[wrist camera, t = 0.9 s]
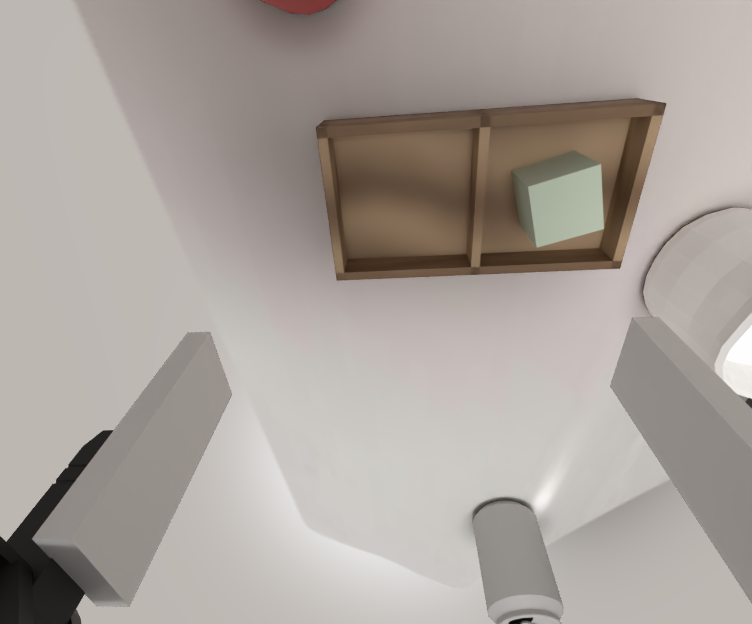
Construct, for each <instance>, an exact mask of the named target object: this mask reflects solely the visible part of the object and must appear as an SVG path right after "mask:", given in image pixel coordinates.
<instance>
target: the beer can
mask: <svg viewBox="0 0 752 624" xmlns="http://www.w3.org/2000/svg"><path fill="white" fill-rule="evenodd" d="M260 1H263V2H265V3H268V4H270V5H272V6H275V7H277V8H280V9H282V10H284V11H287V12H289V13H294V14H308V15H309V14H312V13H315V12H318V11H321V10H324V9H326V8H328V7H329V6H330V5H331V4H332V3H333V2H335V1H336V0H260Z"/></svg>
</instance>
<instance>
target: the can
mask: <svg viewBox="0 0 752 624" xmlns="http://www.w3.org/2000/svg"><path fill="white" fill-rule="evenodd" d="M473 527H474V533H475V539H476V545H477V551H478V557H479V563H480V569H481V575H482V581H483V587H484V593H485V599H486V604H487V610H488V616H489V617H490V618H491V619H492V620H493V621H494V622H495V623H496V624H561V622H560V621H559V620H560V618H561V616H562V614H563V604H562V601H561V597H560V594H559V591H558V588H557V584H556V581H555V578H554V574H553V571H552V568H551V565H550V562H549V558H548V555H547V552H546V548H545V545H544V542H543V539H542V535H541V532H540V529H539V525H538V522H537V519H536V516H535V514H534V513H533V511H532V510H530V509H529V508H527V507H526V506H523V505H522V504H520V503H518V502H515V501H508V500H501V501H495V502H491V503H489V504H487V505H485V506H483V507H482V508H481V509H480V510H479V512H478V513H477V514H476V515H475V517H474V519H473Z"/></svg>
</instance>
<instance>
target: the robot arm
mask: <svg viewBox="0 0 752 624" xmlns="http://www.w3.org/2000/svg"><path fill="white" fill-rule="evenodd" d="M610 387H611V388H612V390H613V392H614V393H615V395H616V396H617V398H618V399H619V401H620V402H621V404H622V405H623V407H624V408H625V410H626V411H627V413H628V415H629V416H630V418H631V419H632V421H633V422H634V424H635V425H636V427H637V428H638V430H639V431H640V433H641V434H642V436H643V438H644V439H645V441H646V442H647V444H648V445H649V447H650V448H651V450H652V451H653V453H654V454H655V456H656V457H657V459H658V461H659V462H660V464H661V465H662V467H663V468H664V470H665V471H666V473H667V474H668V476H669V477H670V479H671V480H672V482H673V484H674V485H675V487H676V488H677V490H678V491H679V493H680V494H681V496H682V497H683V499H684V500H685V502H686V503H687V505H688V506H689V508H690V509H691V511H692V512H693V514H694V516H695V517H696V519H697V520H698V522H699V523H700V525H701V526H702V528H703V529H704V531H705V533H706V534H707V536H708V537H709V539H710V540H711V542H712V543H713V545H714V546H715V548H716V549H717V551H718V552H719V554H720V555H721V557H722V559H723V560H724V562H725V563H726V565H727V566H728V568H729V569H730V571H731V572H732V574H733V575H734V577H735V579H736V580H737V581H738V583H739V585H740V586H741V588H742V589H743V591H744V592H745V594H746V595H747V597H748V598H749V600H750V602H751V603H752V408H751V407H750V406H749V405H748V404H747V403H745V402H744V401H743V400H742V399H741V398H740V397H739V396H738V395H737V394H736V393H735V392H734V391H733V390H732V389H731V388H730V387H729V386H728V385H727V384H726V383H725V382H724V381H723V380H722V379H721V378H720V377H719V376H718V375H717V374H716V373H715V372H714V371H713V370H712V369H711V368H710V367H709V366H708V365H707V364H706V363H705V362H704V361H703V360H702V359H701V358H700V357H699V356H698V355H697V354H696V353H695V352H694V351H693V350H692V349H691V348H690V347H689V346H688V345H687V344H686V343H685V342H684V341H683V340H682V339H681V338H680V337H679V336H678V335H677V334H676V333H675V332H674V331H672V330H671V329H670V328H669V327H668V326H667V325H666V324H665V323H664V322H663V321H662V320H661V319H660V318H659V317H641V318H632V320H631V323H630V326H629V329H628V332H627V335H626V338H625V341H624V344H623V347H622V350H621V354H620V357H619V360H618V363H617V366H616V369H615V372H614V375H613V378H612V381H611V385H610ZM231 396H232V393H231V390H230V387H229V384H228V381H227V379H226V375H225V373H224V370H223V367H222V364H221V361H220V358H219V356H218V353H217V350H216V347H215V344H214V342H213V339H212V336H211V333H210V332H194V333H187V334H186V335H185V337H184V338H183V340H182V341H181V342H180V343H179V345H178V346H177V347H176V349H175V350H174V351H173V352H172V354H171V355H170V356H169V358H168V359H167V360H166V362H165V363H164V364H163V366H162V367H161V368H160V370H159V371H158V372H157V374H156V375H155V376H154V378H153V379H152V380H151V382H150V383H149V384H148V386H147V387H146V388H145V390H144V391H143V392H142V394H141V395H140V396H139V398H138V399H137V400H136V401H135V403H134V404H133V405H132V407H131V408H130V409H129V411H128V412H127V413H126V415H125V416H124V418H123V419H122V420H121V421H120V423H119V424H118V425H117V427H116V428H115V429H114V430H109V431H108V430H107V431H102V432H101V433H99V434H98V435H97V436H96V437H95V438H93V439H92V440H91V441H89V442H88V443H87V444H85V445H84V446H83V447H82V448H81V450H80V451H79V452H78V453H77V455H76V456H75V457H74V459H73V460H72V461H71V462H70V463H69V466H68V468H65V470H64V471H63V472H62V473H61V474H60V476H59V477H58V478H57V480H56V483H55V484H52V486H51V487H50V488H49V489H48V491H47V492H46V493H45V495H44V496H43V497H42V498H41V499H40V501H39V502H38V503H37V505H36V506H35V507H34V508H33V509H32V511H31V512H30V513H29V514H28V516H27V517H26V518H25V519H24V521H23V522H22V523H21V524H20V526H19V527H18V528H17V530H16V531H15V532H14V533H13V534H12V536H11V537H10V538H9V539H8V541H7V542H6V541H5V540H3V538H2V537H0V624H81V619H80V616H79V614H78V612H77V610H76V608H77V606H78V604H79V603H80V601H81V599H82V597H83V596H84V594H85V595H86V596H87V597H88V598H89V599H90V600H91V601H92V602H93V603H94V604H95V605H96V606H115V607H129V606H130V604H131V602H132V600H133V598H134V596H135V594H136V592H137V590H138V588H139V586H140V584H141V582H142V580H143V578H144V576H145V573H146V571H147V569H148V567H149V565H150V563H151V561H152V559H153V557H154V555H155V553H156V551H157V549H158V547H159V544H160V542H161V540H162V538H163V536H164V534H165V532H166V530H167V528H168V526H169V524H170V522H171V519H172V518H173V516H174V514H175V512H176V509H177V507H178V505H179V503H180V501H181V499H182V497H183V495H184V493H185V491H186V489H187V487H188V485H189V483H190V481H191V478H192V476H193V474H194V472H195V470H196V468H197V466H198V464H199V462H200V460H201V458H202V456H203V454H204V452H205V450H206V448H207V445H208V443H209V441H210V439H211V437H212V435H213V433H214V431H215V429H216V427H217V425H218V423H219V421H220V418H221V416H222V414H223V412H224V410H225V408H226V406H227V404H228V402H229V400H230V398H231Z"/></svg>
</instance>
